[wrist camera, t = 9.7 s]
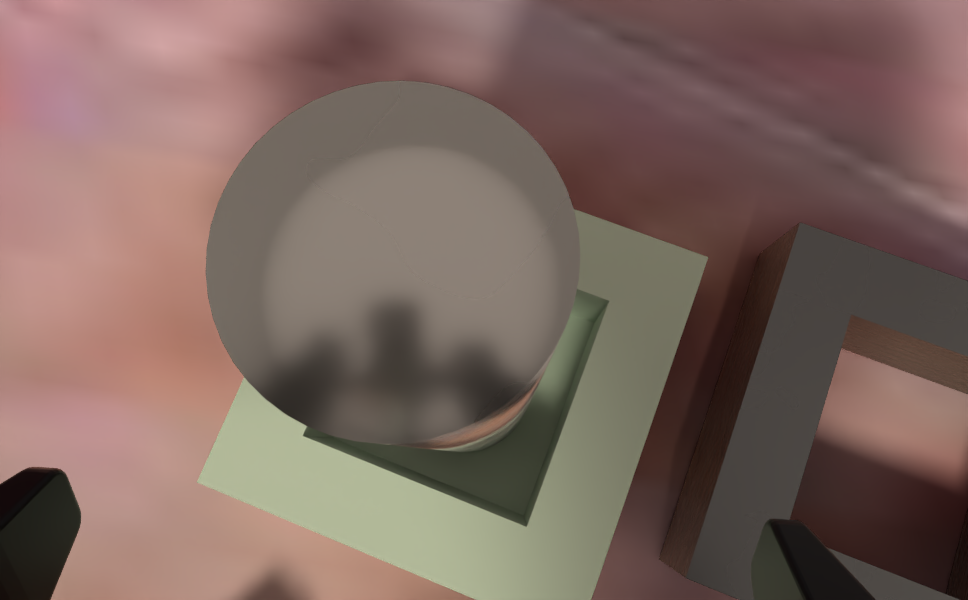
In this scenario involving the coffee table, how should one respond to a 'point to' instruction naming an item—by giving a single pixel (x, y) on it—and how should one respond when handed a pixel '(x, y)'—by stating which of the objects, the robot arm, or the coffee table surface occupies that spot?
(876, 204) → the coffee table surface
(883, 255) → the socket
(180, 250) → the coffee table surface
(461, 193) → the grey cylinder
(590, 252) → the container
